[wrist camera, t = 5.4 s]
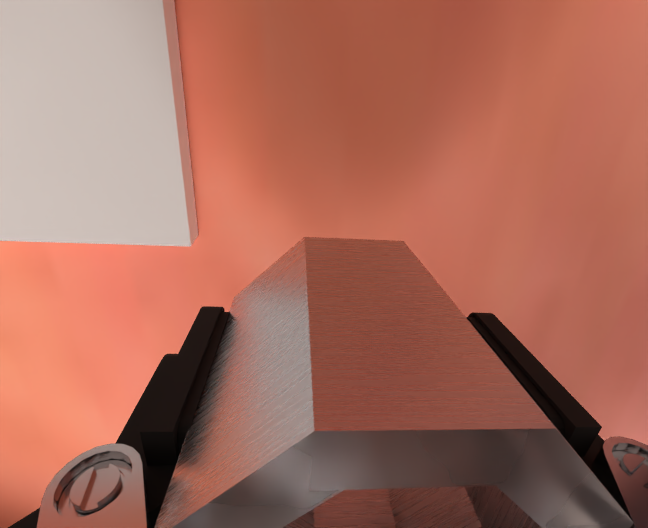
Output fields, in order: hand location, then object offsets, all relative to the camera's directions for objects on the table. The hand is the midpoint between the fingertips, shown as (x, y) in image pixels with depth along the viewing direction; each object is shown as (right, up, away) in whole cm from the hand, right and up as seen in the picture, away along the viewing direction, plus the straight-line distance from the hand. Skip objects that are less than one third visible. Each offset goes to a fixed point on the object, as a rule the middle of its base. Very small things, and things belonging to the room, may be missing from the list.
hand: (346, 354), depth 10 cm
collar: (0, 0, +1) cm, 1 cm away
